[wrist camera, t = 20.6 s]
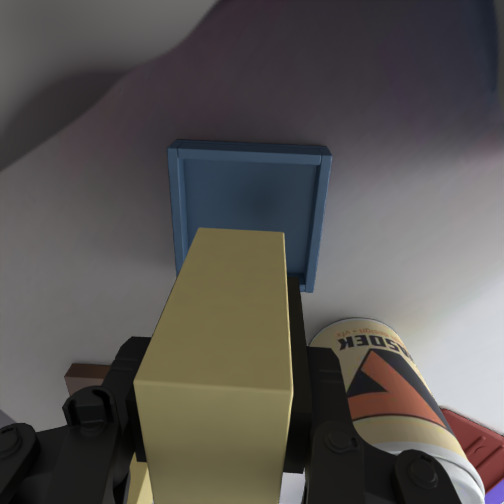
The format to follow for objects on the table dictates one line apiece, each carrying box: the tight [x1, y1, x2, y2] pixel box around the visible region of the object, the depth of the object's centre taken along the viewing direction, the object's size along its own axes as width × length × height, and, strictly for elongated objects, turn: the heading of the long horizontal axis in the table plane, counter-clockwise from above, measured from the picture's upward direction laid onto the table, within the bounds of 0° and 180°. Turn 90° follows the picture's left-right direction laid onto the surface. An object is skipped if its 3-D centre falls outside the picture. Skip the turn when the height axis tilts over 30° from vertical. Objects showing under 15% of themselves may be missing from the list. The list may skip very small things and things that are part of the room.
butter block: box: [127, 452, 153, 504], centre depth 31 cm, size 6×5×8 cm
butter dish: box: [167, 139, 332, 293], centre depth 24 cm, size 9×9×2 cm
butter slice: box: [133, 228, 293, 504], centre depth 13 cm, size 4×5×8 cm
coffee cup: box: [309, 318, 485, 504], centre depth 25 cm, size 9×9×12 cm
